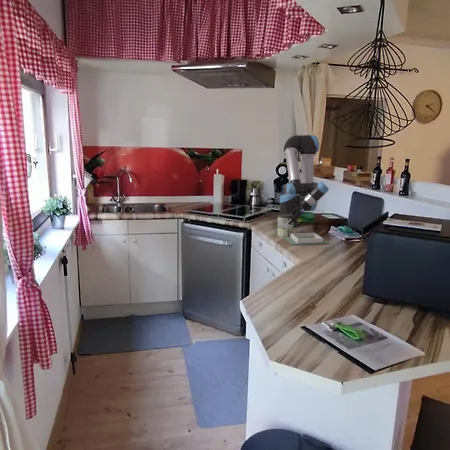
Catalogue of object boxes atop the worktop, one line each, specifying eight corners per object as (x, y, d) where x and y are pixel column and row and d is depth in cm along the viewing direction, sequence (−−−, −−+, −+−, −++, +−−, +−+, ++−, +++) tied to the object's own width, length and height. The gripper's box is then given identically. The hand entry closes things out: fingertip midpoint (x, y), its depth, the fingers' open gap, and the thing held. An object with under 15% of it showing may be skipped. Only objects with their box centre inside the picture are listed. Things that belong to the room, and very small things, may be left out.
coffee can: (279, 233, 272) (279, 213, 269) (294, 234, 269) (294, 213, 266) (275, 237, 262) (276, 215, 260) (291, 238, 259) (292, 216, 256)
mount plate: (285, 238, 257) (285, 233, 257) (318, 237, 260) (319, 232, 259) (292, 245, 241) (292, 239, 240) (328, 244, 243) (328, 238, 243)
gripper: (314, 209, 248) (289, 233, 252) (308, 203, 272) (286, 225, 276) (306, 201, 247) (281, 225, 251) (301, 195, 271) (278, 217, 275)
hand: (283, 225), depth 264 cm, fingers open, 13 cm apart
